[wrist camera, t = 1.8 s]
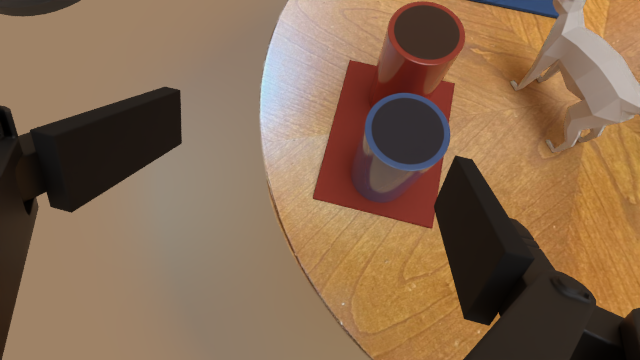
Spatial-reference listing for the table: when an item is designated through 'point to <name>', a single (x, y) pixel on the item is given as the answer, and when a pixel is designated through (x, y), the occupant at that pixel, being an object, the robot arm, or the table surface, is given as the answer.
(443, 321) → the table surface
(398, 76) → the red tumbler
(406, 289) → the table surface
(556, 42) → the cat figurine
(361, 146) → the blue tumbler
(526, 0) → the blue mat
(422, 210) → the red mat
